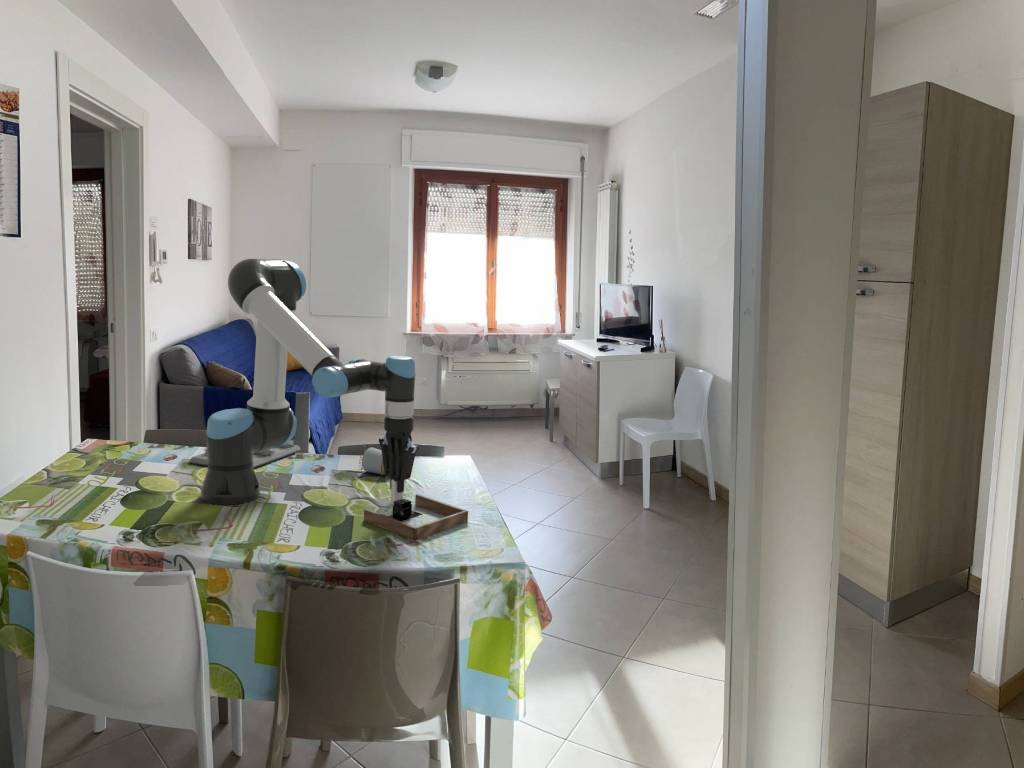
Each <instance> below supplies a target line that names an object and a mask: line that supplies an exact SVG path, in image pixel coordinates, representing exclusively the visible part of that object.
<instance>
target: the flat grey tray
mask: <svg viewBox="0 0 1024 768" xmlns="http://www.w3.org/2000/svg"><path fill="white" fill-rule="evenodd" d="M294 443H295V442H294V439H291V440H290V441H289V442H288V443H286V444H284V445H282V446H280V447H278V448H273V449H268V450H265V451H261V452H257V453H254V454H253V469H254V470H255V468H258V467H261V466H264V465H267V464H269V463H272V462H275V461H277V460H279V459H282V458H283V459H284V458H285V457H289V456H290V455H291V456H292V455H294V454H297V453H299V452H300V451H301V450H302V449H301V447H300V445H297V444H294ZM189 462H190V463H191V464H194V465H195V464H196V465H201V466H205V467H208V462H207V444H206V445H205V448H204V449H203V453H201V454H198V455H195V456H192V457H191V458H190V459H189Z"/></svg>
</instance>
